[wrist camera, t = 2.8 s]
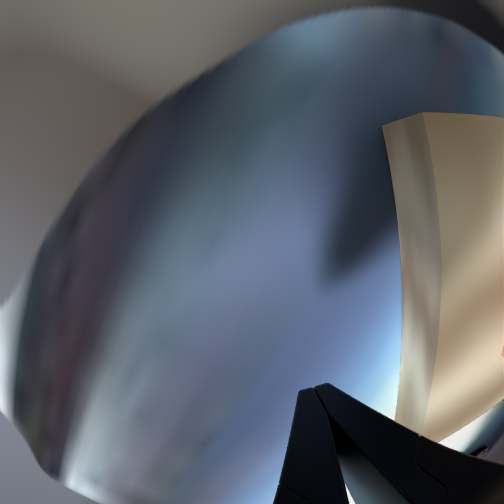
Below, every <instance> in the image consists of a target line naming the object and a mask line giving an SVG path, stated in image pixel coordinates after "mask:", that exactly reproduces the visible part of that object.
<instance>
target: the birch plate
mask: <svg viewBox="0 0 504 504" xmlns="http://www.w3.org/2000/svg"><path fill="white" fill-rule="evenodd" d="M382 130H383V135H384V140H385V144H386V149H387V154H388V160H389V165H390V171H391V177H392V183H393V190H394V197H395V204H396V213H397V221H398V231H399V242H400V255H401V273H402V351H401V368H400V380H399V391H398V400H397V409H396V416H395V421H396V422H397V423H399V424H401V425H403V426H405V427H407V428H409V429H411V430H412V431H414V432H416V433H418V434H419V436H420V435H422V436H424V437H426V438H428V439H430V440H432V441H434V442H437V443H438V442H439V441H441V440H443V439H445V438H446V437H448V436H450V435H452V434H453V433H455V432H456V431H458V430H460V429H461V428H463V427H464V426H466V425H468V424H469V423H471V422H472V421H474V420H475V419H477V418H478V417H479V416H481V415H482V414H484V413H485V412H487V411H488V410H489V409H491V408H492V407H493V406H495V405H496V404H497V403H499V402H500V401H501V400H503V399H504V357H503V356H501V353H502V349H503V345H504V117H497V116H488V115H476V114H462V113H439V112H421V113H418V114H415V115H412V116H409V117H406V118H403V119H399V120H396V121H393V122H391V123H388V124H385V125H382Z"/></svg>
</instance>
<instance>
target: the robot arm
mask: <svg viewBox="0 0 504 504" xmlns="http://www.w3.org/2000/svg"><path fill="white" fill-rule="evenodd" d="M488 449H489V448H488V447H487V446H484V447H483V448H481V449H480V450H478V451H477V452H476V453H474V454H473V455H468V454H465V453H462V452H459V451H456V450H453V449H451V448H448V447H446V446H443V445H441V444H439V443H437V442H434V441H432V440H430V439H428V438H426V437H424V436H422V435H420V436H419V434H418V433H416V432H414V431H412V430H411V429H409V428H407V427H405V426H403V425H401V424H399V423H397V422H396V421H394V420H392V419H390V418H388V417H386V416H385V415H383V414H381V413H379V412H377V411H376V410H374V409H372V408H370V407H369V406H367V405H365V404H363V403H362V402H360V401H358V400H356V399H355V398H353V397H351V396H350V395H348V394H346V393H345V392H343V391H341V390H340V389H338V388H336V387H335V386H333V385H331V384H330V383H325V384H321V385H318V386H315V387H314V388H312V387H311V388H307V389H303V390H300V391H299V392H298V397H297V402H296V407H295V412H294V417H293V422H292V427H291V432H290V437H289V441H288V446H287V451H286V455H285V459H284V464H283V468H282V472H281V476H280V480H279V485H278V488H277V492H276V495H275V499H274V502H273V504H349V501H348V496H347V492H346V487H345V484H346V486H347V488H348V490H349V492H350V494H351V496H352V498H353V500H354V502H355V504H504V464H500V463H496V462H493V461H489V460H485V459H483V458H484V456H485V454H486V452H487V451H488ZM344 482H345V483H344Z"/></svg>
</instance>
